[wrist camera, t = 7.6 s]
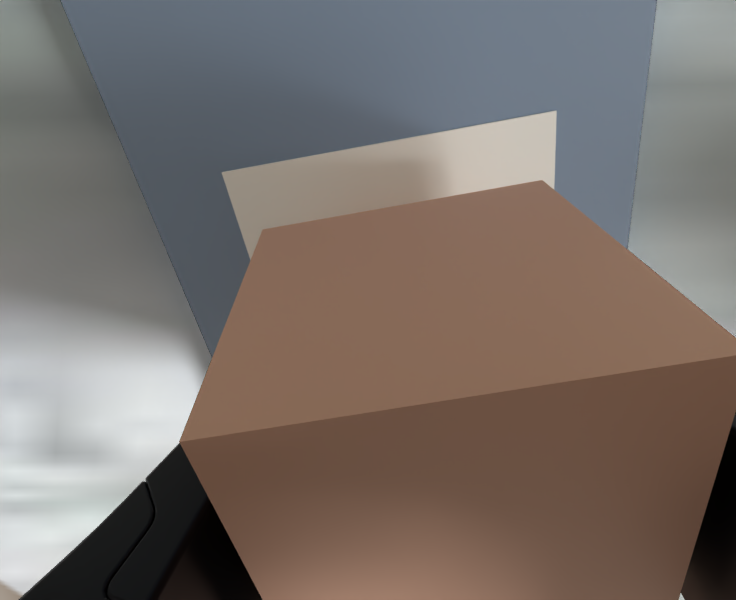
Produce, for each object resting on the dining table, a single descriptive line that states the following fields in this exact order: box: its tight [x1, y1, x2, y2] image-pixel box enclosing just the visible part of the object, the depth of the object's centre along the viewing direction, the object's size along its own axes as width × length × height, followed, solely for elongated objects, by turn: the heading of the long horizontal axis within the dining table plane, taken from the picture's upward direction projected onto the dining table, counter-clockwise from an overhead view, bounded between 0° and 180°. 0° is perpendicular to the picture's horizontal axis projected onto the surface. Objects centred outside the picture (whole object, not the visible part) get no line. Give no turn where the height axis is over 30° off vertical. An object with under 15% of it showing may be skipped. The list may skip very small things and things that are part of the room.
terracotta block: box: [179, 180, 736, 600], centre depth 8 cm, size 5×5×5 cm
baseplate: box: [60, 0, 657, 357], centre depth 11 cm, size 10×30×1 cm, turn 10°
